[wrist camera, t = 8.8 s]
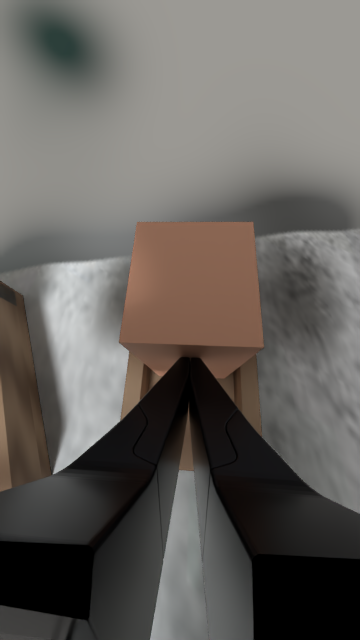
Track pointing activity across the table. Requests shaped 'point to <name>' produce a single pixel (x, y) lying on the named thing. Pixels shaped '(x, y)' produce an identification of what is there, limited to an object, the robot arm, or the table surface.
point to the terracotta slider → (193, 295)
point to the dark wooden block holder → (236, 385)
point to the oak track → (19, 399)
